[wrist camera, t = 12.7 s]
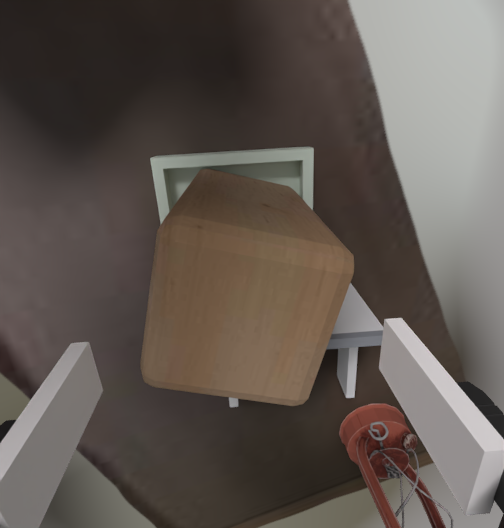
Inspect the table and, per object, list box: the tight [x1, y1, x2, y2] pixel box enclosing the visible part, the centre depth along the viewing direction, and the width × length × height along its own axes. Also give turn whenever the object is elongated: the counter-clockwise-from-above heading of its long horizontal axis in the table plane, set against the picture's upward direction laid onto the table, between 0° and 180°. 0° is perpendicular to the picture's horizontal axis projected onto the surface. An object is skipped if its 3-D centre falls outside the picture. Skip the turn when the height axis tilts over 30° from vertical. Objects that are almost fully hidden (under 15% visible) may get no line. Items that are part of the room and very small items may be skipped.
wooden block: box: [140, 168, 354, 406], centre depth 27 cm, size 10×10×20 cm
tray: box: [150, 146, 314, 224], centre depth 35 cm, size 15×15×2 cm
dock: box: [229, 283, 383, 407], centre depth 37 cm, size 14×15×11 cm
